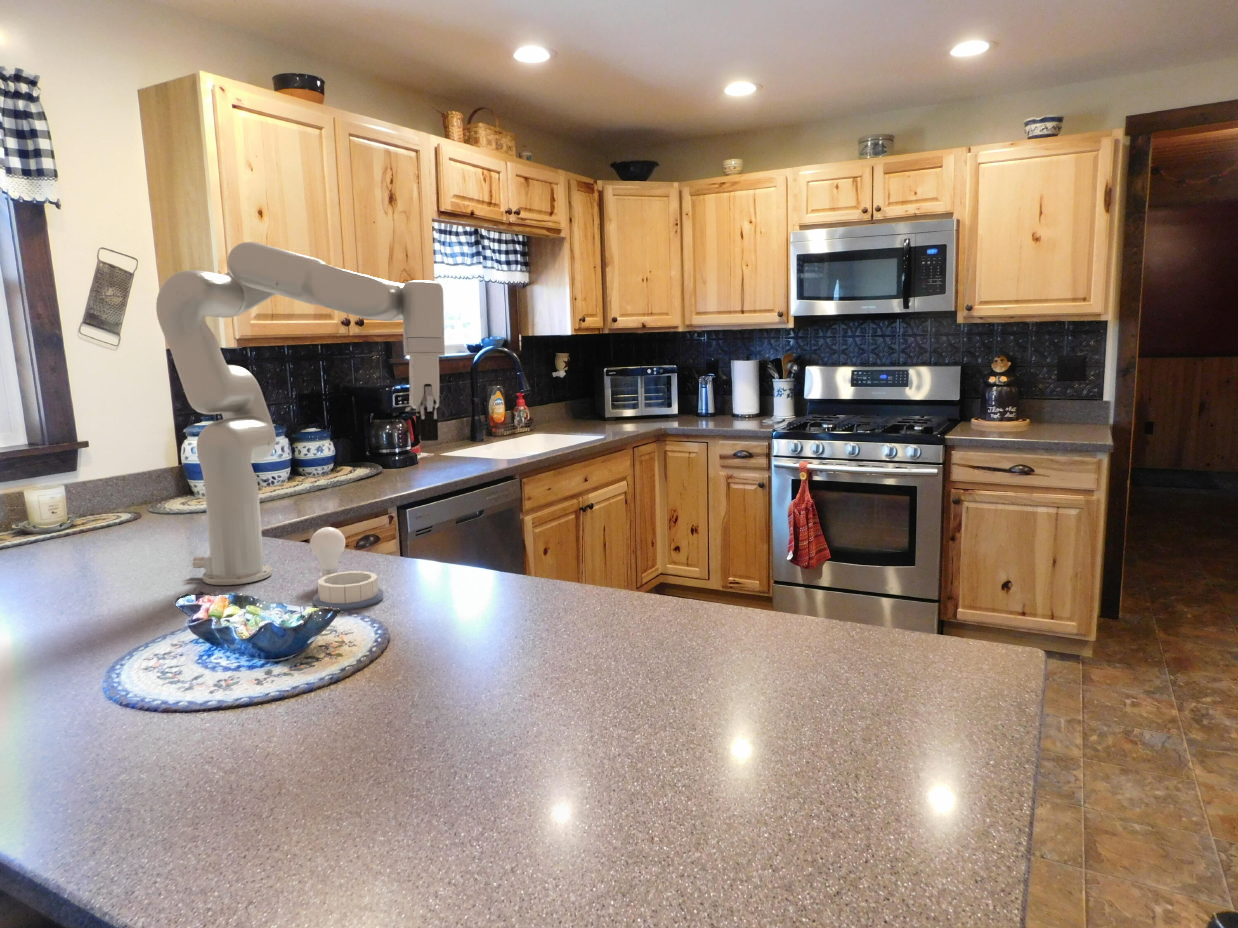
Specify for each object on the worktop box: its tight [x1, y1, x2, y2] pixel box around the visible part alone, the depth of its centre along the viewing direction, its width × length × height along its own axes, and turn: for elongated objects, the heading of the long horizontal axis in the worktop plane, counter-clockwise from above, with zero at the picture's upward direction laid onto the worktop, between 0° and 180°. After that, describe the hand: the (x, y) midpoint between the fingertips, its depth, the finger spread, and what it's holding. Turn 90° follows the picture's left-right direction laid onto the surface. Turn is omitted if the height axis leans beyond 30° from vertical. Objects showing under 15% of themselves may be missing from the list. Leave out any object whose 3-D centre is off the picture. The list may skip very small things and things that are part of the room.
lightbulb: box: [310, 526, 346, 577], centre depth 158 cm, size 6×6×11 cm
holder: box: [312, 570, 384, 611], centre depth 147 cm, size 12×12×4 cm
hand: (426, 438), depth 156 cm, fingers open, 9 cm apart
